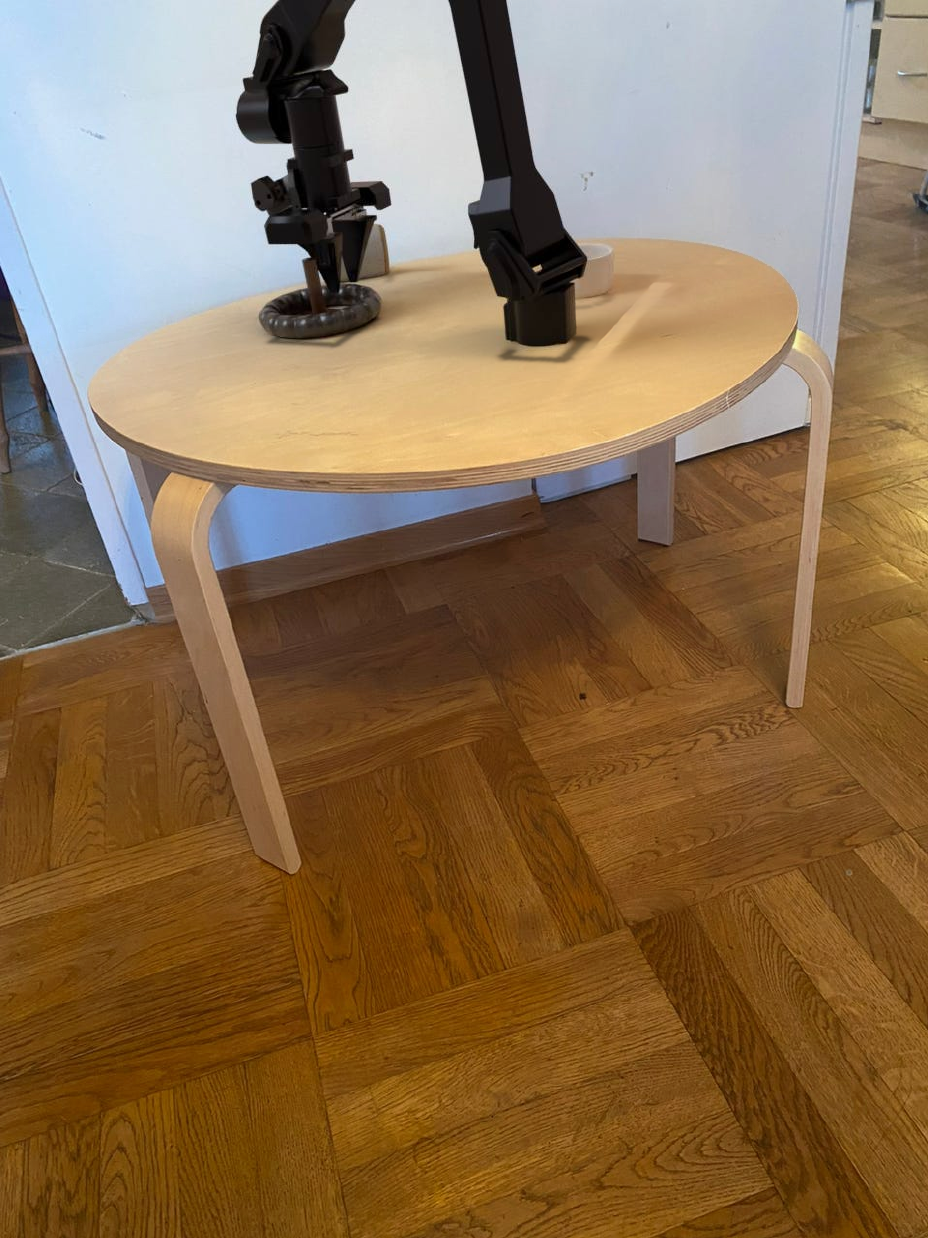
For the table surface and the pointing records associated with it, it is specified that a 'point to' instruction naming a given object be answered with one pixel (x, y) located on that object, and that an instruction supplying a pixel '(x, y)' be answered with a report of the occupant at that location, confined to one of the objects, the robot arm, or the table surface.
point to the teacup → (595, 270)
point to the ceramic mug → (373, 256)
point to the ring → (317, 325)
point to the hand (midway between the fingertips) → (344, 287)
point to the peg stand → (314, 288)
